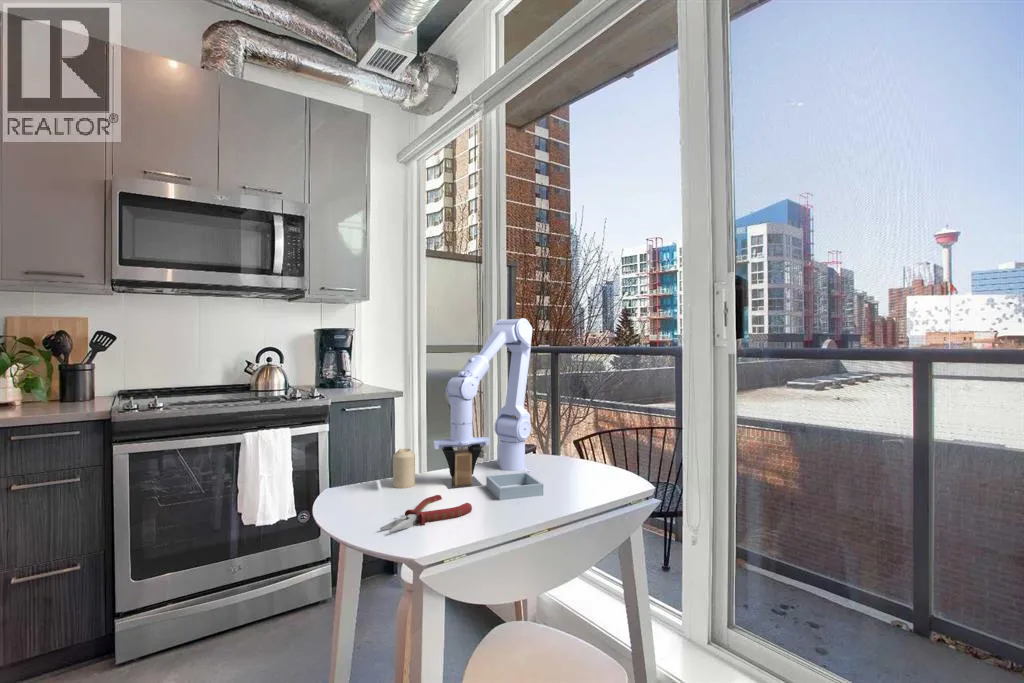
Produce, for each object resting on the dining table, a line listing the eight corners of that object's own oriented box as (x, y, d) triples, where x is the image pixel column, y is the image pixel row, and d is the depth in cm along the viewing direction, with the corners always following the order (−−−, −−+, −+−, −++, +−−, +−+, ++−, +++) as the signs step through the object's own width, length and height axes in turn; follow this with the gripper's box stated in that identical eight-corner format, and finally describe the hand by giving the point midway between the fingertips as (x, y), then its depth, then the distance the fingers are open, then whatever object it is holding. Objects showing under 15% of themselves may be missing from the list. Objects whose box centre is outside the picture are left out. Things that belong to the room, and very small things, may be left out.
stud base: (441, 482, 132) (441, 469, 132) (473, 479, 135) (473, 467, 135) (448, 492, 124) (448, 478, 124) (482, 488, 127) (482, 475, 127)
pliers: (366, 529, 101) (366, 516, 101) (437, 503, 117) (437, 492, 117) (404, 544, 94) (404, 530, 94) (474, 514, 110) (474, 502, 110)
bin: (486, 489, 126) (486, 476, 126) (526, 485, 129) (526, 472, 129) (499, 503, 115) (499, 488, 115) (543, 498, 119) (543, 484, 119)
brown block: (451, 480, 131) (451, 450, 131) (467, 479, 132) (467, 449, 132) (455, 485, 127) (455, 454, 127) (471, 483, 128) (471, 452, 128)
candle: (402, 492, 123) (402, 452, 123) (388, 488, 127) (388, 449, 127) (419, 487, 128) (419, 448, 128) (405, 483, 131) (405, 446, 131)
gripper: (436, 426, 123) (436, 481, 123) (492, 423, 128) (492, 476, 128) (431, 422, 130) (431, 474, 130) (484, 419, 135) (485, 469, 135)
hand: (461, 474), depth 130 cm, fingers closed on brown block, 4 cm apart
